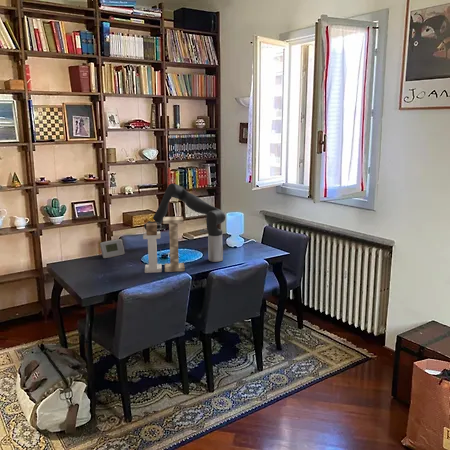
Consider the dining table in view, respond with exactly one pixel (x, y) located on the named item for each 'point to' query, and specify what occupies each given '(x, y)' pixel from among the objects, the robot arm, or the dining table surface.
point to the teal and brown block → (151, 228)
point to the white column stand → (152, 253)
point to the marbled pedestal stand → (173, 244)
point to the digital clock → (112, 248)
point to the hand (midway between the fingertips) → (155, 226)
